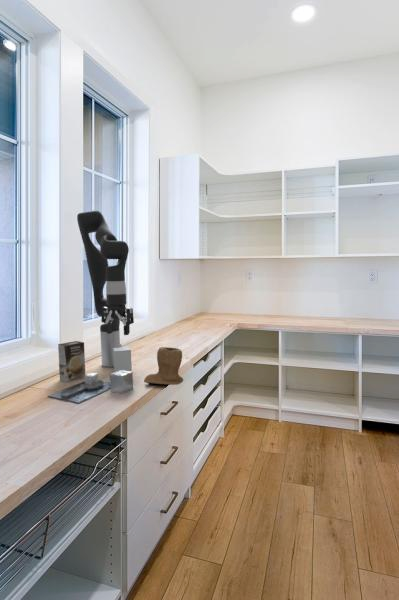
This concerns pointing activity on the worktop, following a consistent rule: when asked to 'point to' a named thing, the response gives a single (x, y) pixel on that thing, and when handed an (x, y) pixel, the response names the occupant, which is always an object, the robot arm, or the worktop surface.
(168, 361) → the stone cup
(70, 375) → the coffee box
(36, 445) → the worktop surface
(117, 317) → the robot arm
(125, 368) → the supplement box
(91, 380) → the grey base plate
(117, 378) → the brushed steel cube
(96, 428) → the worktop surface
